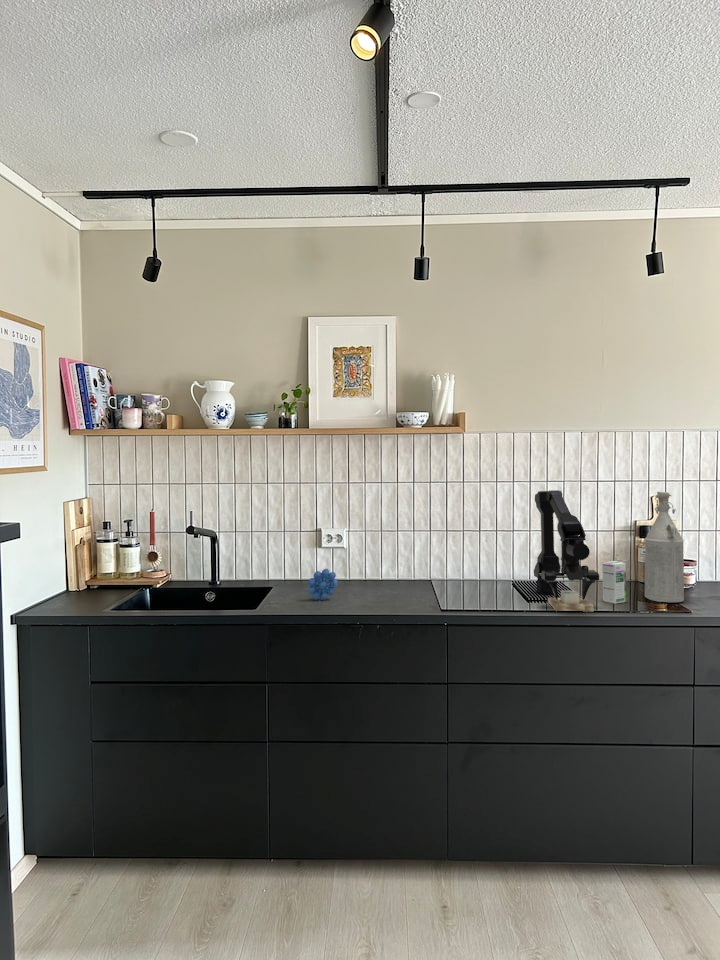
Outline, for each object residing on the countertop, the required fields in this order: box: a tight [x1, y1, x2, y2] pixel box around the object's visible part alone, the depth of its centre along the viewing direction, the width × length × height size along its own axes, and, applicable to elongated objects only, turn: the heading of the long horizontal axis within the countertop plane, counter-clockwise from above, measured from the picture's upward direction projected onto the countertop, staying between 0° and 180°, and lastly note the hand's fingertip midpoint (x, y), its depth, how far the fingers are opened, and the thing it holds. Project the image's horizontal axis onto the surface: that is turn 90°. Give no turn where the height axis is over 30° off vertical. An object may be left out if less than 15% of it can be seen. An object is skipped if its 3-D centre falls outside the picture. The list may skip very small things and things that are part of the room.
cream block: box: [560, 590, 580, 604], centre depth 222 cm, size 5×5×6 cm
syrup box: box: [601, 560, 627, 605], centre depth 230 cm, size 6×6×14 cm
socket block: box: [547, 597, 595, 613], centre depth 222 cm, size 12×12×2 cm
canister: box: [644, 491, 685, 603], centre depth 232 cm, size 13×17×40 cm
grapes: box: [307, 568, 339, 601], centre depth 241 cm, size 12×7×12 cm, turn 96°
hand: (570, 599), depth 222 cm, fingers open, 9 cm apart
